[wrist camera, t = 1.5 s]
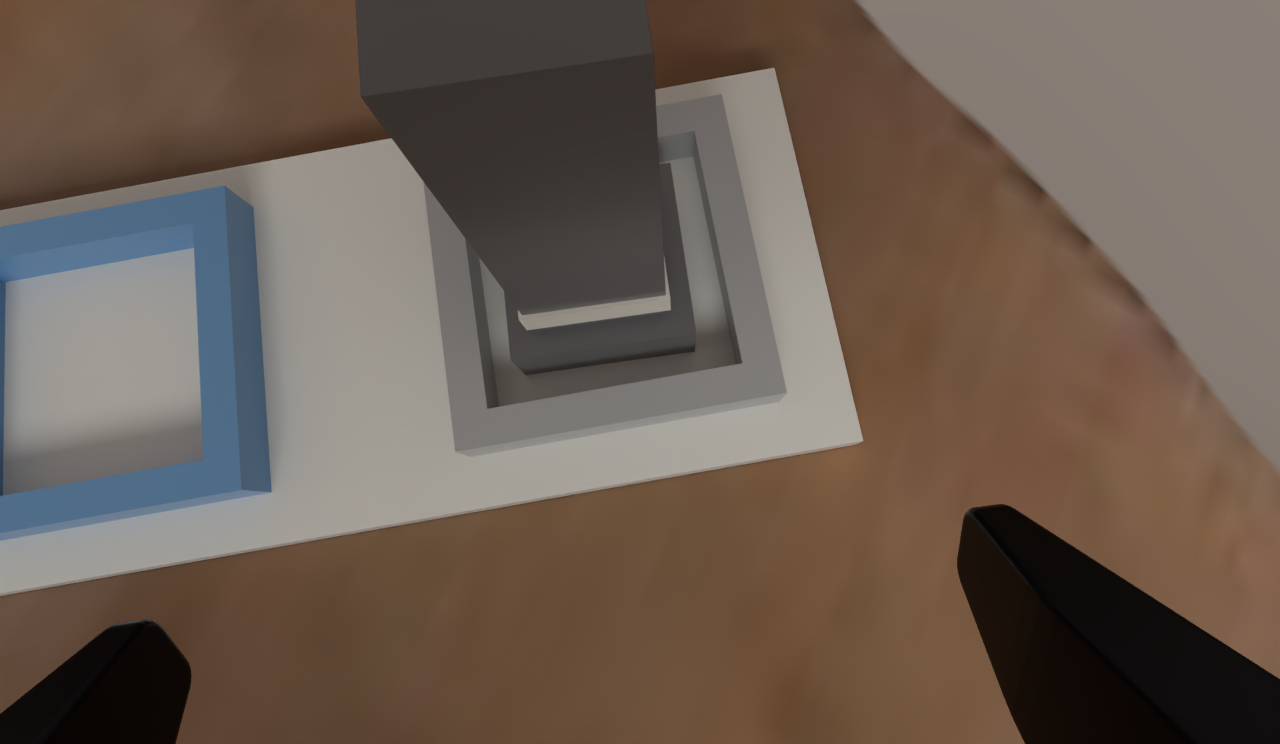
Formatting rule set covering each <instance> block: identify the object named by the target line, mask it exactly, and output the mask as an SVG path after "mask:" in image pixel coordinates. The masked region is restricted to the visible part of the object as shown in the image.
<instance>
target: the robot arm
mask: <svg viewBox="0 0 1280 744" xmlns="http://www.w3.org/2000/svg"><path fill="white" fill-rule="evenodd" d="M957 568H958V574H959V578H960V582H961V584H962V587H963V590H964V592H965V595H966V598H967V600H968V603H969V606H970V608H971V611H972V614H973V616H974V619H975V622H976V624H977V627H978V630H979V632H980V635H981V637H982V640H983V643H984V645H985V648H986V651H987V653H988V656H989V659H990V661H991V664H992V667H993V669H994V672H995V675H996V677H997V680H998V683H999V685H1000V688H1001V691H1002V693H1003V696H1004V698H1005V701H1006V703H1007V706H1008V708H1009V710H1010V713H1011V715H1012V717H1013V720H1014V722H1015V724H1016V726H1017V728H1018V730H1019V732H1020V734H1021V736H1022V739H1023V741H1024V742H1025V744H1280V679H1279V678H1277V677H1276V676H1274V675H1272V674H1271V673H1269V672H1268V671H1266V670H1265V669H1263V668H1262V667H1260V666H1258V665H1257V664H1255V663H1254V662H1252V661H1251V660H1249V659H1248V658H1246V657H1244V656H1243V655H1241V654H1240V653H1238V652H1237V651H1235V650H1234V649H1232V648H1230V647H1229V646H1227V645H1226V644H1224V643H1223V642H1221V641H1220V640H1218V639H1216V638H1215V637H1213V636H1212V635H1210V634H1209V633H1207V632H1206V631H1204V630H1202V629H1201V628H1199V627H1198V626H1196V625H1195V624H1193V623H1192V622H1190V621H1188V620H1187V619H1185V618H1184V617H1182V616H1181V615H1179V614H1178V613H1176V612H1174V611H1173V610H1171V609H1170V608H1168V607H1167V606H1165V605H1164V604H1162V603H1160V602H1159V601H1157V600H1156V599H1154V598H1153V597H1151V596H1150V595H1148V594H1146V593H1145V592H1143V591H1142V590H1140V589H1139V588H1137V587H1135V586H1134V585H1132V584H1131V583H1129V582H1128V581H1126V580H1125V579H1123V578H1121V577H1120V576H1118V575H1117V574H1115V573H1114V572H1112V571H1111V570H1109V569H1107V568H1106V567H1104V566H1103V565H1101V564H1100V563H1098V562H1097V561H1095V560H1093V559H1092V558H1090V557H1089V556H1087V555H1086V554H1084V553H1083V552H1081V551H1079V550H1078V549H1076V548H1075V547H1073V546H1072V545H1070V544H1069V543H1067V542H1065V541H1064V540H1062V539H1061V538H1059V537H1058V536H1056V535H1055V534H1053V533H1051V532H1050V531H1048V530H1047V529H1045V528H1044V527H1042V526H1041V525H1039V524H1037V523H1036V522H1034V521H1033V520H1031V519H1030V518H1028V517H1027V516H1025V515H1023V514H1022V513H1020V512H1019V511H1017V510H1016V509H1014V508H1012V507H1010V506H1008V505H1004V504H997V505H989V506H982V507H975V508H971V509H969V510H968V511H967V512H966V513H965V515H964V519H963V525H962V531H961V538H960V544H959V551H958V557H957ZM190 685H191V668H190V665H189V662H188V661H187V659H186V658H185V657H184V655H183V654H182V653H181V651H180V650H179V649H178V647H177V646H176V645H175V643H174V642H173V641H172V639H171V638H170V637H169V635H168V634H167V633H166V631H165V630H164V629H163V627H162V626H161V625H160V624H159V623H158V622H156V621H153V620H148V619H146V620H139V621H131V622H124V623H118V624H115V625H112V626H110V627H109V628H107V629H106V630H104V631H103V632H102V633H101V634H99V635H98V636H97V637H96V638H94V639H93V640H92V641H91V642H89V643H88V644H87V645H86V646H84V647H83V648H82V649H81V650H79V651H78V652H77V653H76V654H74V655H73V656H72V657H71V658H69V659H68V660H67V661H66V662H64V663H63V664H62V665H61V666H59V667H58V668H57V669H56V670H54V671H53V672H52V673H51V674H49V675H48V676H47V677H46V678H44V679H43V680H42V681H41V682H40V683H38V684H37V685H36V686H35V687H33V688H32V689H31V690H30V691H28V692H27V693H26V694H25V695H23V696H22V697H21V698H20V699H18V700H17V701H16V702H15V703H13V704H12V705H11V706H10V707H8V708H7V709H6V710H5V711H3V712H2V713H1V714H0V744H176V740H177V736H178V732H179V728H180V724H181V721H182V717H183V713H184V709H185V705H186V701H187V697H188V694H189V690H190Z"/></svg>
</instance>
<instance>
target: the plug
mask: <svg viewBox="0 0 1280 744" xmlns="http://www.w3.org/2000/svg"><path fill="white" fill-rule="evenodd" d="M356 18H357V36H358V54H359V72H360V89H361V98H362V99H363V100H364V102H365V103H366V104H367V106H368V107H369V108H370V110H371V111H372V112H373V114H374V115H375V117H376V118H377V119H378V121H379V122H380V123H381V125H382V126H383V127H384V129H385V130H386V131H387V133H388V134H389V136H390V137H391V138H392V140H393V141H394V142H395V144H396V145H397V146H398V148H399V149H400V150H401V152H402V153H403V154H404V156H405V157H406V159H407V160H408V161H409V163H410V164H411V165H412V167H413V168H414V169H415V171H416V172H417V173H418V175H419V176H420V178H421V179H422V180H423V182H424V183H425V184H426V186H427V187H428V188H429V190H430V191H431V192H432V194H433V195H434V197H435V198H436V199H437V201H438V202H439V203H440V205H441V206H442V207H443V209H444V210H445V211H446V213H447V214H448V215H449V217H450V218H451V220H452V221H453V222H454V224H455V225H456V226H457V228H458V229H459V230H460V232H461V233H462V234H463V236H464V237H465V239H466V240H467V241H468V243H469V244H470V245H471V247H472V248H473V249H474V251H475V252H476V253H477V255H478V256H479V258H480V259H481V260H482V262H483V263H484V264H485V266H486V267H487V268H488V270H489V271H490V272H491V274H492V275H493V276H494V278H495V279H496V281H497V282H498V283H499V285H500V286H501V287H502V289H503V290H504V297H505V307H506V318H507V328H508V339H509V349H510V359H511V361H512V362H513V363H514V364H515V365H516V366H517V367H518V368H519V369H520V370H521V371H522V372H523V373H524V374H525V375H530V374H537V373H544V372H551V371H558V370H565V369H573V368H580V367H587V366H594V365H601V364H609V363H616V362H623V361H630V360H637V359H644V358H652V357H659V356H666V355H673V354H680V353H688V352H695V344H696V327H695V321H694V314H693V308H692V301H691V295H690V288H689V281H688V275H687V268H686V262H685V255H684V249H683V242H682V236H681V229H680V222H679V216H678V209H677V203H676V196H675V190H674V183H673V177H672V170H671V163H664V164H659V153H658V133H657V114H656V94H655V75H654V55H653V47H652V41H651V34H650V28H649V21H648V15H647V8H646V2H645V0H356Z"/></svg>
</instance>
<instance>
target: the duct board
mask: <svg viewBox="0 0 1280 744" xmlns="http://www.w3.org/2000/svg"><path fill="white" fill-rule="evenodd" d="M655 94H656V114H657V133H658V153H659V164H664V163H671V170H672V177H673V183H674V190H675V196H676V203H677V209H678V216H679V222H680V229H681V236H682V242H683V249H684V255H685V262H686V268H687V275H688V281H689V288H690V295H691V301H692V308H693V314H694V321H695V327H696V344H695V352H688V353H680V354H673V355H666V356H659V357H652V358H644V359H637V360H630V361H623V362H616V363H609V364H601V365H594V366H587V367H580V368H573V369H565V370H558V371H551V372H544V373H537V374H530V375H525V374H524V373H523V372H522V371H521V370H520V369H519V368H518V367H517V366H516V365H515V364H514V363H513V362H512V361H511V359H510V349H509V339H508V328H507V318H506V307H505V297H504V290H503V289H502V287H501V286H500V285H499V283H498V282H497V281H496V279H495V278H494V276H493V275H492V274H491V272H490V271H489V270H488V268H487V267H486V266H485V264H484V263H483V262H482V260H481V259H480V258H479V256H478V255H477V253H476V252H475V251H474V249H473V248H472V247H471V245H470V244H469V243H468V241H467V240H466V239H465V237H464V236H463V234H462V233H461V232H460V230H459V229H458V228H457V226H456V225H455V224H454V222H453V221H452V220H451V218H450V217H449V215H448V214H447V213H446V211H445V210H444V209H443V207H442V206H441V205H440V203H439V202H438V201H437V199H436V198H435V197H434V195H433V194H432V192H431V191H430V190H429V188H428V187H427V186H426V184H425V183H424V182H423V180H422V179H421V178H420V176H419V175H418V173H417V172H416V171H415V169H414V168H413V167H412V165H411V164H410V163H409V161H408V160H407V159H406V157H405V156H404V154H403V153H402V152H401V150H400V149H399V148H398V146H397V145H396V144H395V142H394V141H393V140H392V138H390V139H385V140H379V141H374V142H368V143H363V144H357V145H352V146H347V147H341V148H336V149H330V150H325V151H319V152H314V153H309V154H303V155H298V156H292V157H287V158H281V159H276V160H271V161H265V162H260V163H254V164H249V165H244V166H238V167H233V168H227V169H222V170H216V171H211V172H206V173H200V174H195V175H189V176H184V177H178V178H173V179H168V180H162V181H157V182H151V183H146V184H140V185H135V186H130V187H124V188H119V189H113V190H108V191H103V192H97V193H92V194H86V195H81V196H75V197H70V198H65V199H59V200H54V201H48V202H43V203H37V204H32V205H27V206H21V207H16V208H10V209H5V210H0V596H3V595H9V594H15V593H20V592H26V591H32V590H37V589H43V588H48V587H54V586H60V585H65V584H71V583H77V582H82V581H88V580H94V579H99V578H105V577H111V576H116V575H122V574H128V573H133V572H139V571H144V570H150V569H156V568H161V567H167V566H173V565H178V564H184V563H190V562H195V561H201V560H207V559H212V558H218V557H224V556H229V555H235V554H240V553H246V552H252V551H257V550H263V549H269V548H274V547H280V546H286V545H291V544H297V543H303V542H308V541H314V540H320V539H325V538H331V537H337V536H342V535H348V534H353V533H359V532H365V531H370V530H376V529H382V528H387V527H393V526H399V525H404V524H410V523H416V522H421V521H427V520H433V519H438V518H444V517H449V516H455V515H461V514H466V513H472V512H478V511H483V510H489V509H495V508H500V507H506V506H512V505H517V504H523V503H529V502H534V501H540V500H545V499H551V498H557V497H562V496H568V495H574V494H579V493H585V492H591V491H596V490H602V489H608V488H613V487H619V486H625V485H630V484H636V483H641V482H647V481H653V480H658V479H664V478H670V477H675V476H681V475H687V474H692V473H698V472H704V471H709V470H715V469H721V468H726V467H732V466H737V465H743V464H749V463H754V462H760V461H766V460H771V459H777V458H783V457H788V456H794V455H800V454H805V453H811V452H817V451H822V450H828V449H833V448H839V447H845V446H850V445H855V444H857V443H860V442H862V441H863V438H862V434H861V430H860V425H859V421H858V417H857V413H856V409H855V404H854V400H853V396H852V392H851V388H850V383H849V379H848V375H847V371H846V367H845V362H844V358H843V354H842V350H841V346H840V341H839V337H838V333H837V329H836V325H835V320H834V316H833V312H832V308H831V304H830V299H829V295H828V291H827V287H826V283H825V278H824V274H823V270H822V266H821V262H820V257H819V253H818V249H817V245H816V241H815V236H814V232H813V228H812V224H811V219H810V215H809V211H808V207H807V203H806V198H805V194H804V190H803V186H802V182H801V177H800V173H799V169H798V165H797V161H796V156H795V152H794V148H793V144H792V140H791V135H790V131H789V127H788V123H787V119H786V114H785V110H784V106H783V102H782V98H781V93H780V89H779V85H778V81H777V77H776V72H775V68H770V69H764V70H759V71H753V72H748V73H742V74H737V75H732V76H726V77H721V78H715V79H710V80H705V81H699V82H694V83H688V84H683V85H677V86H672V87H667V88H661V89H656V90H655Z"/></svg>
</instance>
